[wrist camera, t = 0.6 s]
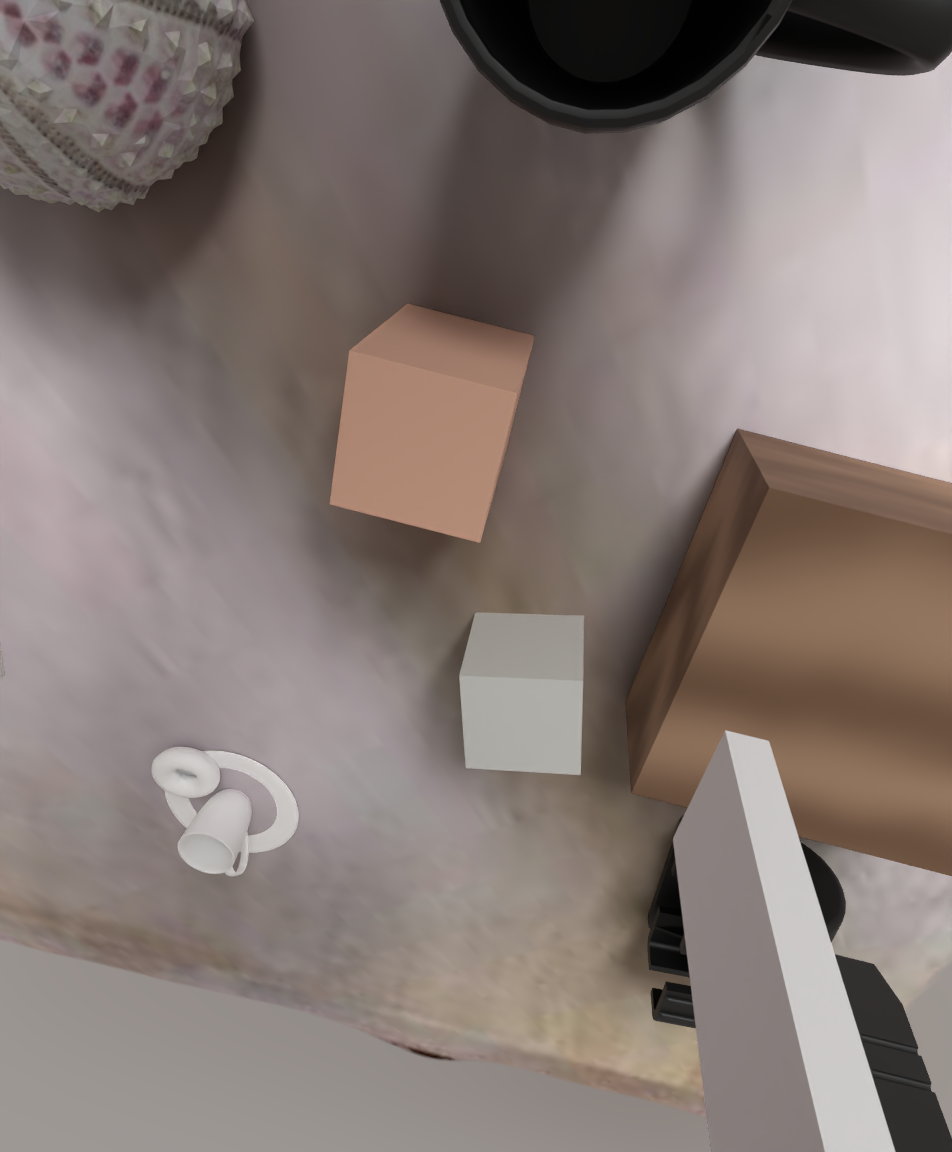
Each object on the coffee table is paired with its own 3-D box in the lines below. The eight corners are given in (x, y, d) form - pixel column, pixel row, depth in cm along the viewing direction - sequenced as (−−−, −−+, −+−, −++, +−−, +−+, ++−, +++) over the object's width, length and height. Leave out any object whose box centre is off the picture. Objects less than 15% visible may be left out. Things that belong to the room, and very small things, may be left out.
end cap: (766, 948, 44) (794, 1071, 38) (643, 925, 44) (652, 1043, 38) (823, 827, 39) (865, 947, 33) (684, 803, 39) (700, 917, 33)
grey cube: (475, 611, 35) (459, 675, 31) (584, 614, 34) (583, 680, 30) (480, 697, 37) (465, 768, 33) (581, 702, 37) (580, 775, 32)
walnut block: (737, 428, 29) (769, 487, 24) (1089, 518, 29) (1197, 597, 24) (625, 701, 36) (631, 793, 31) (908, 774, 36) (962, 878, 31)
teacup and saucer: (147, 732, 42) (106, 785, 39) (282, 734, 41) (253, 789, 37) (189, 843, 46) (156, 900, 43) (313, 848, 45) (290, 907, 41)
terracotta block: (407, 303, 29) (349, 350, 22) (535, 336, 29) (517, 393, 22) (387, 426, 31) (329, 504, 24) (504, 456, 31) (480, 542, 24)
